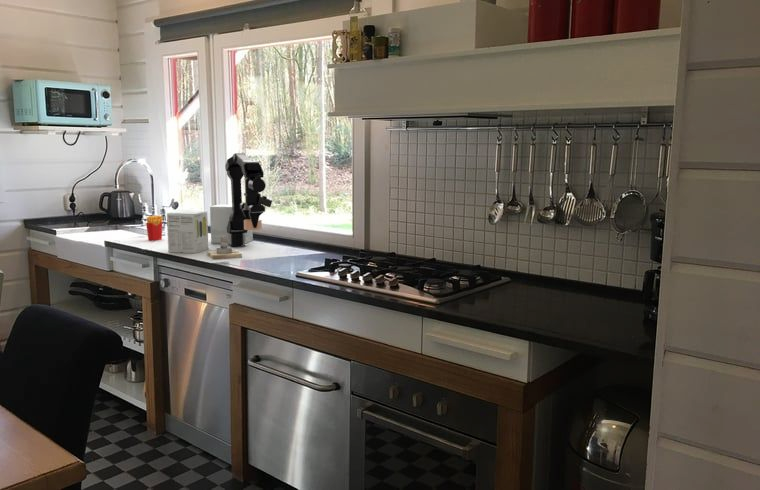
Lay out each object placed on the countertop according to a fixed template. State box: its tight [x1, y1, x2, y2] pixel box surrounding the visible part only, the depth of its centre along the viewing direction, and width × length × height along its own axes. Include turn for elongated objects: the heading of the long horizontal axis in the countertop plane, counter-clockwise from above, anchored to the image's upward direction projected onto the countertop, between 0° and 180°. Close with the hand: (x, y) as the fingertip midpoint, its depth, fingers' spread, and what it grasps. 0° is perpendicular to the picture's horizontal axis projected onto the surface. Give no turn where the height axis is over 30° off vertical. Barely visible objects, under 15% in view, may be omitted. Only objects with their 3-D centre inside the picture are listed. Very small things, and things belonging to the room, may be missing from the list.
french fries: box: [145, 214, 164, 242], centre depth 317 cm, size 8×4×12 cm, turn 143°
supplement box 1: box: [166, 209, 209, 254], centre depth 285 cm, size 13×13×18 cm
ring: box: [244, 218, 263, 231], centre depth 277 cm, size 7×7×4 cm
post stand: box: [206, 236, 243, 260], centre depth 272 cm, size 12×12×8 cm
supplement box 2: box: [209, 203, 254, 245], centre depth 312 cm, size 17×13×18 cm
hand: (252, 226), depth 277 cm, fingers closed on ring, 7 cm apart
